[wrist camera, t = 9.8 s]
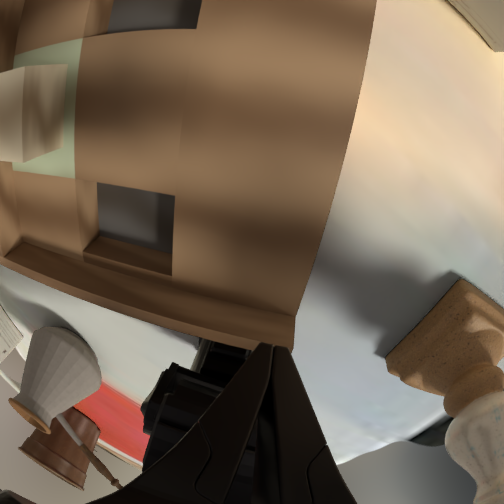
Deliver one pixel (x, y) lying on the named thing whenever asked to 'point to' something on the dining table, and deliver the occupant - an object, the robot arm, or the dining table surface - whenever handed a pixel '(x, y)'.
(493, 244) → the dining table surface
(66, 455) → the plant pot
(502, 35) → the supplement box
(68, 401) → the coffee pot
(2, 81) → the birch block
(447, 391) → the candle holder
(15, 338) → the skincare box
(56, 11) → the box
